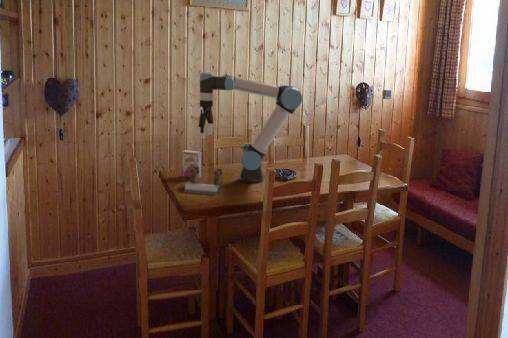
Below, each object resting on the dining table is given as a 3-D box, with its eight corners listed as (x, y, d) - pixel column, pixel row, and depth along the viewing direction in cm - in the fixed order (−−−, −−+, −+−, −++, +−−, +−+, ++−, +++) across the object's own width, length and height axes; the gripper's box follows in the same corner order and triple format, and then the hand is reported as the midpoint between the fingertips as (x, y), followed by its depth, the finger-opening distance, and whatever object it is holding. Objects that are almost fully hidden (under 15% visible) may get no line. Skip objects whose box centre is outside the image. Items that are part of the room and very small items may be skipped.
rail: (220, 191, 285) (220, 185, 284) (218, 193, 282) (218, 187, 281) (186, 188, 289) (186, 182, 288) (184, 189, 286) (184, 183, 285)
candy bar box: (181, 177, 315) (181, 151, 311) (185, 175, 319) (185, 149, 315) (197, 179, 311) (198, 153, 307) (201, 177, 316) (201, 151, 312)
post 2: (222, 186, 298) (222, 168, 295) (218, 189, 291) (218, 171, 288) (217, 185, 298) (217, 168, 296) (213, 188, 291) (213, 171, 289)
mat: (220, 191, 287) (220, 190, 287) (216, 195, 280) (216, 194, 280) (188, 188, 291) (188, 187, 291) (183, 192, 283) (183, 191, 283)
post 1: (199, 184, 300) (199, 166, 298) (195, 187, 294) (195, 169, 291) (194, 183, 301) (194, 166, 299) (190, 186, 294) (190, 169, 292)
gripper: (206, 97, 302) (206, 132, 307) (193, 101, 278) (192, 139, 283) (218, 98, 300) (218, 133, 305) (206, 102, 276) (205, 140, 282)
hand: (206, 136), depth 294 cm, fingers open, 13 cm apart
